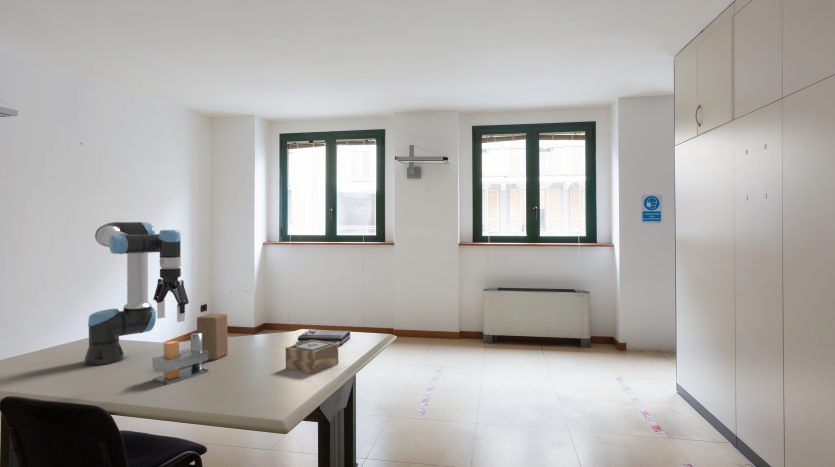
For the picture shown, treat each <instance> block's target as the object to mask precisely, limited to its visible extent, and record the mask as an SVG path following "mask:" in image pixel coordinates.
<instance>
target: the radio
mask: <svg viewBox="0 0 835 467" xmlns="http://www.w3.org/2000/svg"><path fill="white" fill-rule="evenodd" d="M350 339H351V331H350V330H327V329H326V330H323V329H320V330H319V329H318V330H317V329H308V330H307V331H305V332H303V333H301V334H300V335H298V337H297V341H296V342H295V345H296V344H299V343H302V342H306V341H309V340H317V341H323V342H330V343H336V344H338V347H340V346H343V345H344V344H345V343H347V342H348V341H349V340H350Z"/></svg>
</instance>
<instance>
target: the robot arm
mask: <svg viewBox="0 0 835 467" xmlns="http://www.w3.org/2000/svg"><path fill="white" fill-rule="evenodd" d="M94 237H95V238H94V239H95V241H96V242H97V243H98V244H99V245H101V246H103V247H106V248H107V247H108V248H109V251H110V253H111V254H114V255H124V254H126V255H127V256H126V257H127V258H126V261H127V262H126V263H127V264H126V272H127V273H126V280H127V281H126V287H127V288H126V289H127V290H126V294H127V295H126V304H125V305H123V310H119V309H118V308H108V309H103V310H98V311H95V312H93V313H91V314H90V315H89V316H88V323H87V326H88V347H87V351H86V354H85V356H84V358H83V360H84V363H83V364H84V365H85V366H102V365H110V364H113V363H117V362H120V361H122V360H124V357H125V353H124V351H123V348H122V347H121V344H120V337H121V336H128V335H129V336H130V335H135V334H136V335H137V334H142V333H147V332H151V331H152V330H153V329H154V327H155V325H156V320H157V319H165V318H166V307H165V306H166V303H165V302H166V301H165V298H166V297H167V295H168V293H169V292H170V293H172V294H173V297H174V299H175V300H176V303H177V305H176V322H177V323H181V322H185V319H186V318H185V315H186V314H185V313H186V305H189V298H188V295H187V291H186V289H185V286H184V285H185V284H184V280H179V278H180V277H181V275H182V271H181V270H182V269H181V266H182V261H181V259H182V258H181V256H182V255H181V244H182V243H181V240H182V238H181V232H180V230H178V229H161V230H159V233H157V234H156V231H155V228H154V226H153V225H152V224H151V223H150V222H147V221H146V222H145V221H130V222H129V221H127V222H126V221H123V222H122V221H121V222H120V221H113V222H108V223H105V224H103V225H101V226H99V227H97V229H96V231H95V234H94ZM149 253H159V262H158V263H159V267H160V269H159V278H157V284H156V288H155V292H154V295H153V299H152V300H153V301H155V302H156V308H157V310H156V309H155V307H152V303H150V302H149ZM156 312H157V313H156Z"/></svg>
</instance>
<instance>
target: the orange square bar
mask: <svg viewBox="0 0 835 467" xmlns="http://www.w3.org/2000/svg"><path fill="white" fill-rule="evenodd" d="M179 351H180V341H176V340H171V341H170V340H169V341H167V342H166V341H165V342H163V355H164V358H166V359H172V358H176V357H179ZM179 371H180V368H178V369H175V370H171V371H168V372H167V371H163V375H164V377H165V378H169V379H171V378H175V377H178V376H179Z"/></svg>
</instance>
